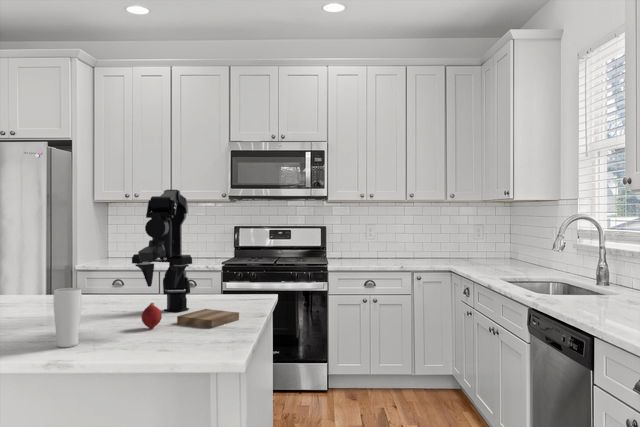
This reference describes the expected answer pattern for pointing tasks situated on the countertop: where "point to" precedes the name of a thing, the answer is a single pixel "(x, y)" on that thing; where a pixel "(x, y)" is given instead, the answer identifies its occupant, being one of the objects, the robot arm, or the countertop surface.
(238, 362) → the countertop surface
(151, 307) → the red round fruit
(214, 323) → the walnut block
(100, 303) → the countertop surface
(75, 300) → the drinking glass
